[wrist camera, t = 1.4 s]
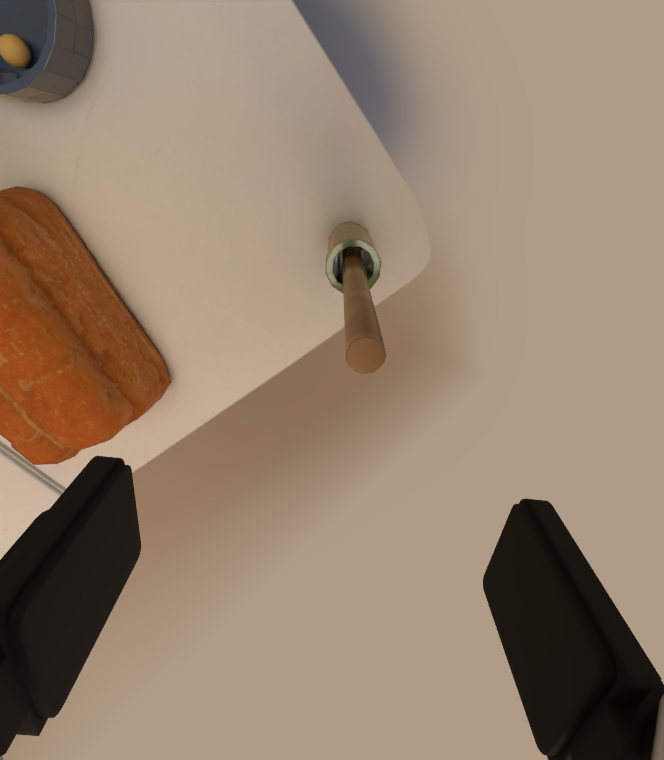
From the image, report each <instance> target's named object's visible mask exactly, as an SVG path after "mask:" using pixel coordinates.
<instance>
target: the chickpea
mask: <svg viewBox="0 0 664 760" xmlns="http://www.w3.org/2000/svg"><path fill="white" fill-rule="evenodd" d="M0 55H1V56H2V58H3V59H4V60H5V61H6V62H7V63H9V64H10V65H12V66H14V67H17V68H24V67H26V66H28V65H29V64H30V62H31V52H30V49H29V47H28V46H27V44H26V43H25V42H24V41H23V40H22V39H21V38H20V37H18V36H16V35H13V34H3V35H2V36H0Z"/></svg>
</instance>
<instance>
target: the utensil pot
mask: <svg viewBox="0 0 664 760" xmlns="http://www.w3.org/2000/svg"><path fill="white" fill-rule="evenodd" d="M349 246H350V247H361V248H362V249H363V250H364V252H363V258H362V261H363V265H364V268H365V272H366V276H367V280H368V284H369V288H370V289H371V288H372V286H373V285H374V284H375V282H376V281H377V279H378V278H379V276H380V268H381V260H380V258H379V256H378V254H377V251H376V249H375V247H374V245H373V242H372V240H371V238H370V236H369V233H368V231H367V230H366V229H365V228H364V227H363V226H361V225H360V224H358V223H354V222H346V223H343V224H341V225H339V226H338V227H336V228H335V229H334V231H333V232H332V234H331V236H330V237H329V243H328V250H327V258H326V275H327V277H328V279H329V281H330V283H331V285H332V286H333V287H334V288H336V289H337V290H339V291H340V292H342V293H343V267H342V257H339V251H341V250H343V249H345V248H347V247H349Z"/></svg>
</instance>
